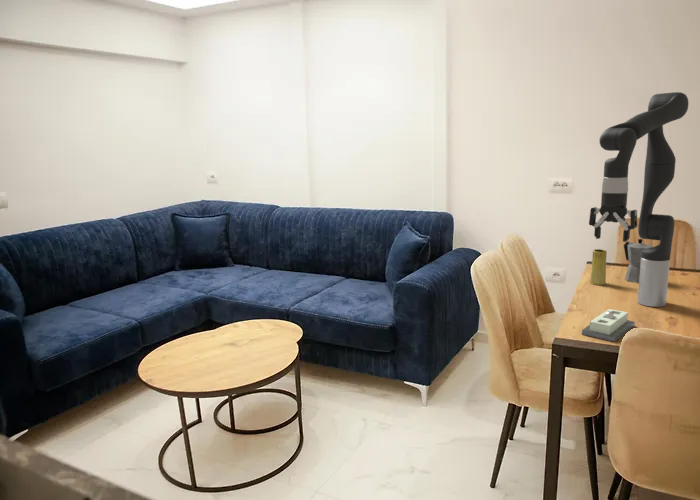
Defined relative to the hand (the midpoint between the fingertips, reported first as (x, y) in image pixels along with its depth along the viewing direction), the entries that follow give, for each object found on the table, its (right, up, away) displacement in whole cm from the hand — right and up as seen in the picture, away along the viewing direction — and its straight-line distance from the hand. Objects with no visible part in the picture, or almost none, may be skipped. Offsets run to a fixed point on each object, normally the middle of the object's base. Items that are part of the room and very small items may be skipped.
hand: (611, 239), depth 176 cm
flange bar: (-2, -28, -3) cm, 28 cm away
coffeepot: (+36, -16, +52) cm, 65 cm away
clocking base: (-2, -30, -3) cm, 30 cm away
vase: (+18, -18, +49) cm, 55 cm away
